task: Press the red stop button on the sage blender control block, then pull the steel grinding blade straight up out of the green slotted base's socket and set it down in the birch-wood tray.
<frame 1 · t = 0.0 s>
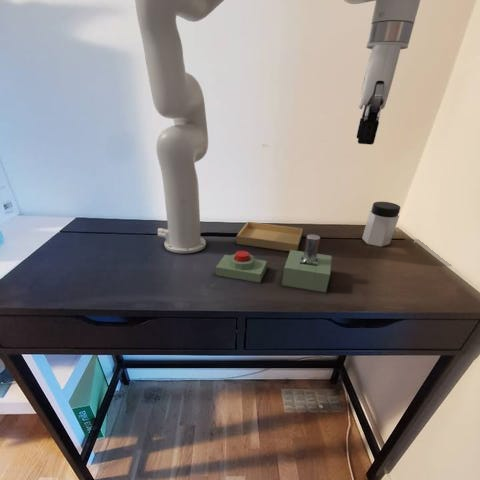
hand: (364, 141, 69), 31 cm above the table, tool pointing down, fingers open, 9 cm apart
blade: (309, 258, 79), in the green slotted base
stop button: (242, 256, 81), point 4 cm above the table, slide at 0.1 cm
tray: (270, 239, 103), on the table
green slotted base: (305, 278, 82), on the table
jar: (375, 242, 105), on the table
stop block: (241, 272, 84), on the table
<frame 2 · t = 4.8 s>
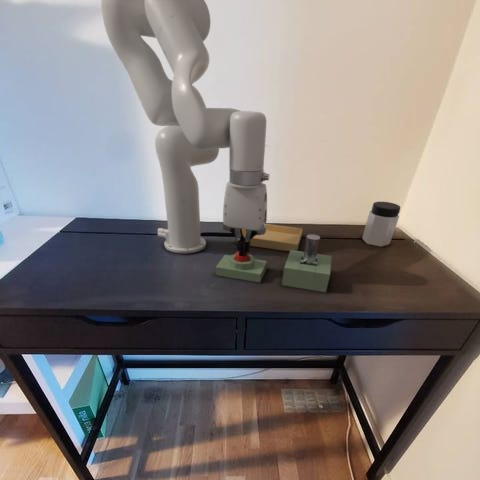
hand: (243, 253, 80), 5 cm above the table, tool pointing down, fingers closed
stop button: (242, 256, 81), point 4 cm above the table, slide at 0.0 cm, touching gripper
everything else where it was.
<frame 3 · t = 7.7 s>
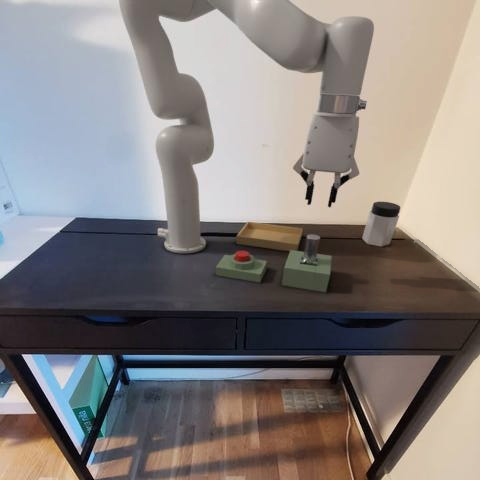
hand: (319, 203, 71), 19 cm above the table, tool pointing down, fingers open, 3 cm apart
stop button: (242, 256, 81), point 4 cm above the table, slide at 0.1 cm
everything else where it was.
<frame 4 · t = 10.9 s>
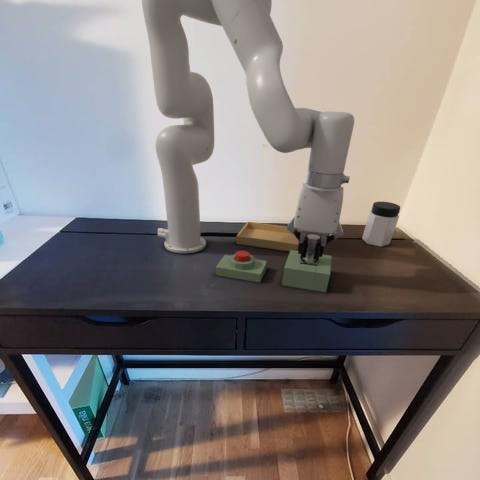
hand: (309, 257, 78), 6 cm above the table, tool pointing down, fingers closed on blade, 3 cm apart
blade: (309, 258, 79), in the green slotted base, touching gripper
everything else where it was.
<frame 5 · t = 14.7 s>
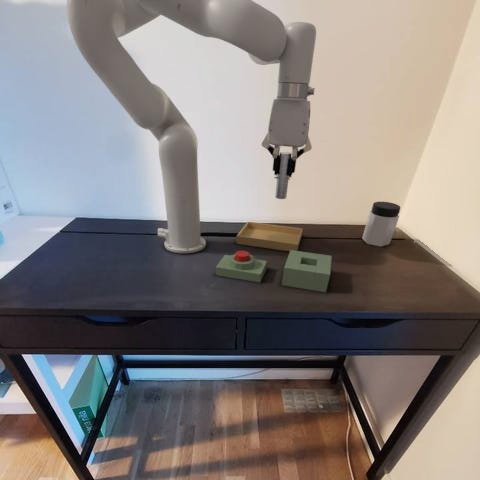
hand: (283, 174, 86), 21 cm above the table, tool pointing down, fingers closed on blade, 3 cm apart
blade: (283, 176, 87), point 20 cm above the table, touching gripper
everything else where it was.
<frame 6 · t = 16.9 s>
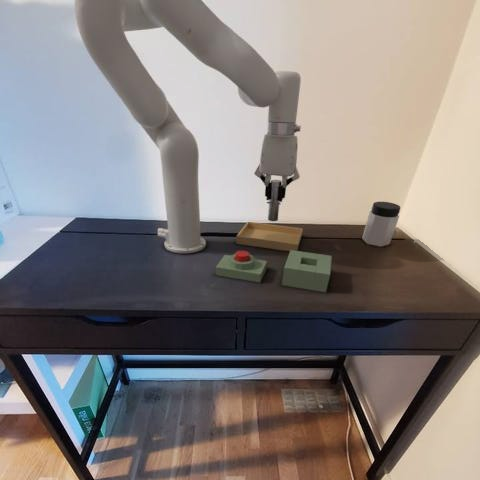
hand: (274, 199, 95), 13 cm above the table, tool pointing down, fingers closed on blade, 3 cm apart
blade: (274, 200, 95), point 12 cm above the table, touching gripper
everything else where it was.
when the fingers open (7 cm above the table, at t = 18.6 s): blade stays where it is, resting on tray.
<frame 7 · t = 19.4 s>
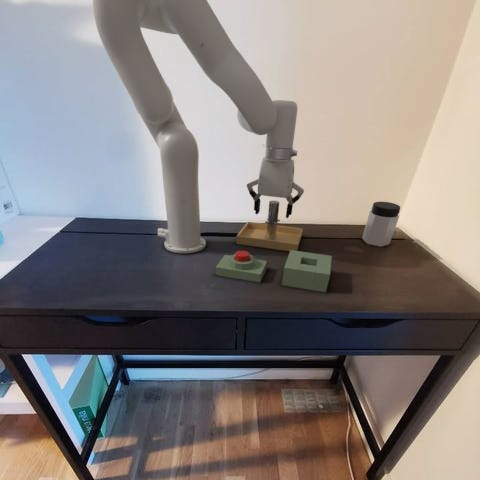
hand: (272, 214, 98), 8 cm above the table, tool pointing down, fingers open, 9 cm apart
blade: (272, 220, 99), in the tray, point 6 cm above the table
everything else where it was.
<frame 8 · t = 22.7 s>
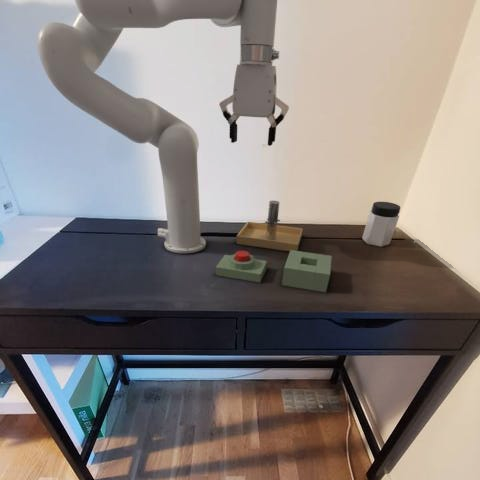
hand: (251, 143, 81), 28 cm above the table, tool pointing down, fingers open, 9 cm apart
nothing on the table moved.
at the end: stop button pushed in 0.9 cm at the most during the clip, back to where it started at the end; blade inside the target area on the tray (0.2 cm from its centre), point 6.3 cm above the tray's base; blade touching tray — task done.
